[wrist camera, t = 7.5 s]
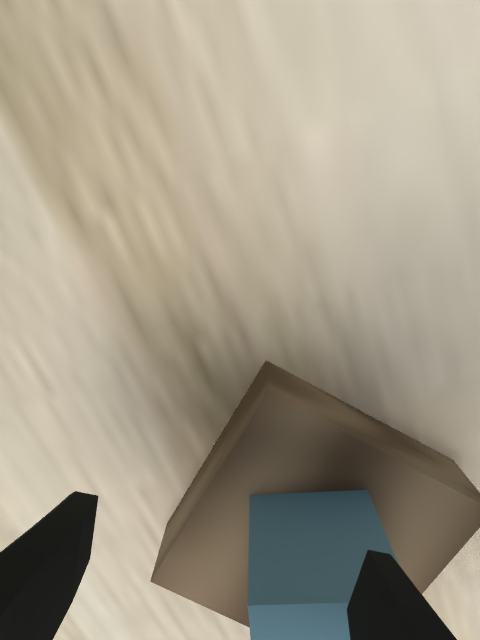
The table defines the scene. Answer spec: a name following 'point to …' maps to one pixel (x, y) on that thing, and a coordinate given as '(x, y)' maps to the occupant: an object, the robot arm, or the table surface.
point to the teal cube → (308, 561)
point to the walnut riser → (309, 489)
